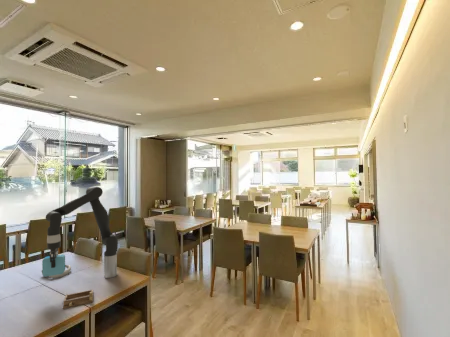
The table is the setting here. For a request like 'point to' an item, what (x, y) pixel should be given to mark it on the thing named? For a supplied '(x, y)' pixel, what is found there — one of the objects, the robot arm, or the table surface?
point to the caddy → (78, 299)
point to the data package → (58, 265)
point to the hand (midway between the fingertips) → (54, 266)
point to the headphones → (63, 272)
